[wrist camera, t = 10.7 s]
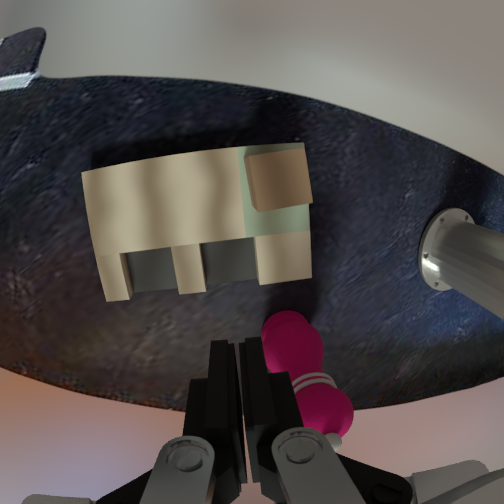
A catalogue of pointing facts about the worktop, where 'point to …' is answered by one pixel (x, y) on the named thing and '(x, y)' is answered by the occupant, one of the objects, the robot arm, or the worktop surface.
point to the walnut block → (278, 179)
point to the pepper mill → (307, 374)
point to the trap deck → (191, 224)
